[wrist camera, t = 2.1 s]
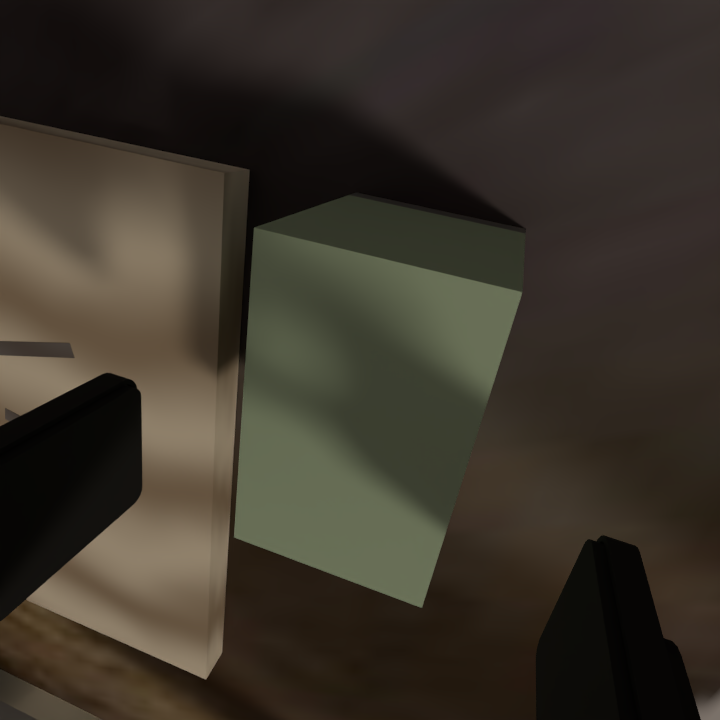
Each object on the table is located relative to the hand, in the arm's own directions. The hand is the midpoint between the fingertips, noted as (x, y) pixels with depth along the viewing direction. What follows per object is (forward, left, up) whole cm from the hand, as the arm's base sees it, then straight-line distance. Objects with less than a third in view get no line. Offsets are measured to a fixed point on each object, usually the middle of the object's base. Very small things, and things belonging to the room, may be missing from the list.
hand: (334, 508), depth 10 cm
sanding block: (-1, 0, -8) cm, 8 cm away
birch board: (+7, -14, -8) cm, 17 cm away
